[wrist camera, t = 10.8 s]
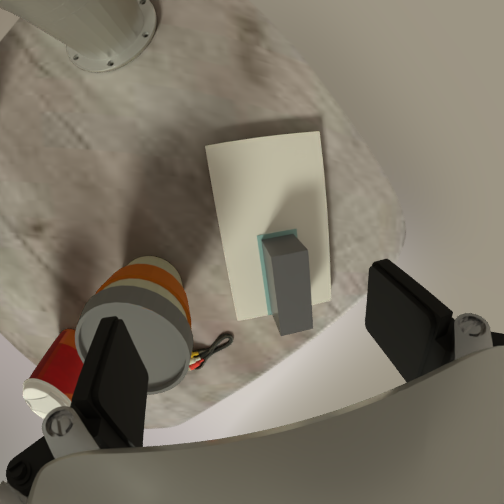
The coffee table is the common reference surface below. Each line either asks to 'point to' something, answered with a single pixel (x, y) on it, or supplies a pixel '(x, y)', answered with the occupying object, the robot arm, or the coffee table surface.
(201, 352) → the composite cable
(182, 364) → the reusable coffee cup
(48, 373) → the coffee cup
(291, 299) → the block
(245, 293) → the board
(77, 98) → the coffee table surface
